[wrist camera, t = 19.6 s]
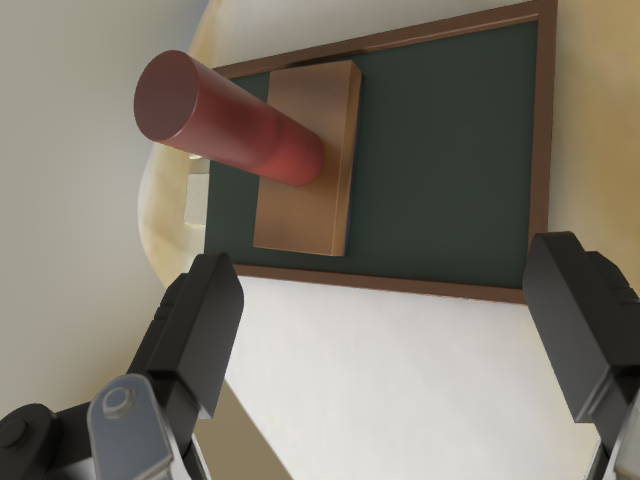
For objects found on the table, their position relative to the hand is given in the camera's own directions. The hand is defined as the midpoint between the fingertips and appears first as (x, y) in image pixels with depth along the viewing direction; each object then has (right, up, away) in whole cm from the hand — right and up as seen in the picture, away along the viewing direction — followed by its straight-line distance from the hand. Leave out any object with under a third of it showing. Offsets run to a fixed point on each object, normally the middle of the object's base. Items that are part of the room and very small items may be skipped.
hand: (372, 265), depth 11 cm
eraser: (-2, +5, +14) cm, 15 cm away
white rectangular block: (-11, +4, +20) cm, 23 cm away
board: (+1, +5, +14) cm, 15 cm away
